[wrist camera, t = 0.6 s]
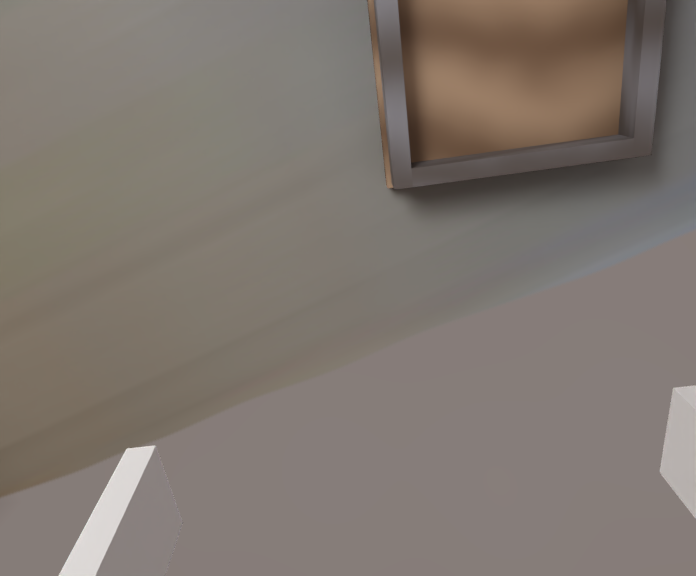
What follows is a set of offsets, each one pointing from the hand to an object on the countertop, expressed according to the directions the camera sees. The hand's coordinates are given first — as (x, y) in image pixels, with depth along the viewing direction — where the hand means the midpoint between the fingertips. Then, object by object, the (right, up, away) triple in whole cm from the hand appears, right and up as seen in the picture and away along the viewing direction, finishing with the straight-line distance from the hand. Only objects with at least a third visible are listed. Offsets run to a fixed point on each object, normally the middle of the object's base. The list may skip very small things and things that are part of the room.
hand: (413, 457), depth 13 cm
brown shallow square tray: (+8, +20, +19) cm, 29 cm away
